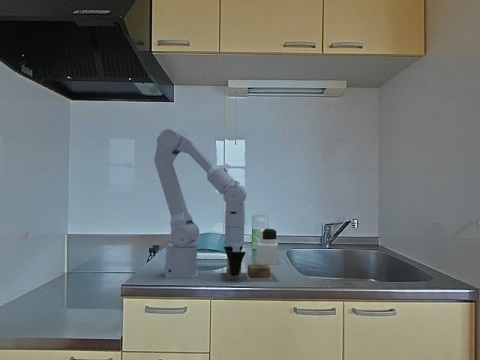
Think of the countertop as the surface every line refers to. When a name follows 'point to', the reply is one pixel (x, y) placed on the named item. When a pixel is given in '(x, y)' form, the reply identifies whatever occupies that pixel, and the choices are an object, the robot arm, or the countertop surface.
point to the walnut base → (258, 271)
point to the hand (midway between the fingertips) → (233, 272)
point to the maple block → (230, 272)
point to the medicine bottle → (267, 247)
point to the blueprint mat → (246, 278)
